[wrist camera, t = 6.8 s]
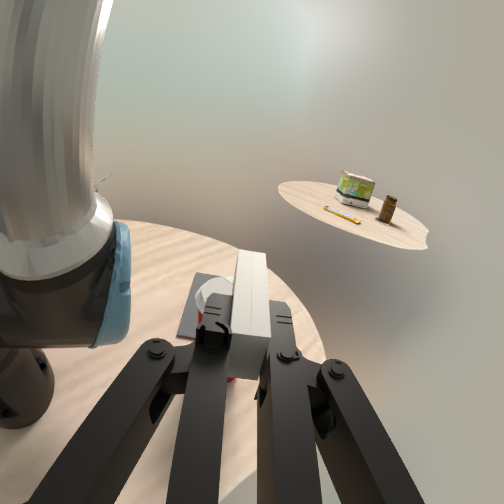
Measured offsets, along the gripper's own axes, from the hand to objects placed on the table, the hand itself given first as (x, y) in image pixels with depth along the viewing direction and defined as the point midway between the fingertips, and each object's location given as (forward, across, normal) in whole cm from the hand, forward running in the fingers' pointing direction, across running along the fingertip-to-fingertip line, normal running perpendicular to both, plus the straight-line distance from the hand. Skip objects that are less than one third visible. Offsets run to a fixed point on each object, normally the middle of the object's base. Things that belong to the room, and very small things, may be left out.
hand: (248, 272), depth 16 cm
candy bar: (+92, +41, -24) cm, 103 cm away
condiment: (+99, +65, -23) cm, 120 cm away
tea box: (+116, +53, -23) cm, 130 cm away
